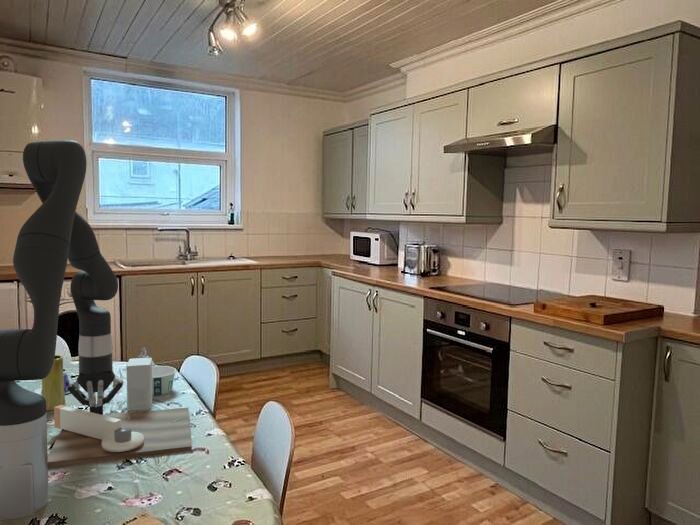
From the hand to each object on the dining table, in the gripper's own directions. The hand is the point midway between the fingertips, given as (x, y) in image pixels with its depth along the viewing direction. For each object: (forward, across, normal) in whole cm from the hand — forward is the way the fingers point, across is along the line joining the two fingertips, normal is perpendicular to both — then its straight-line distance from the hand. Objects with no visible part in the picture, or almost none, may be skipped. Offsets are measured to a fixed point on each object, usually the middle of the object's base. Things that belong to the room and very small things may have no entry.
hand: (96, 419), depth 132 cm
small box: (+4, +9, +17) cm, 20 cm away
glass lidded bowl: (+4, +10, +60) cm, 61 cm away
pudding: (+4, -16, +37) cm, 41 cm away
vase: (+3, -14, +22) cm, 26 cm away
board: (+3, +7, -5) cm, 9 cm away
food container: (+4, +13, +29) cm, 32 cm away
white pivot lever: (+2, +7, -13) cm, 15 cm away
